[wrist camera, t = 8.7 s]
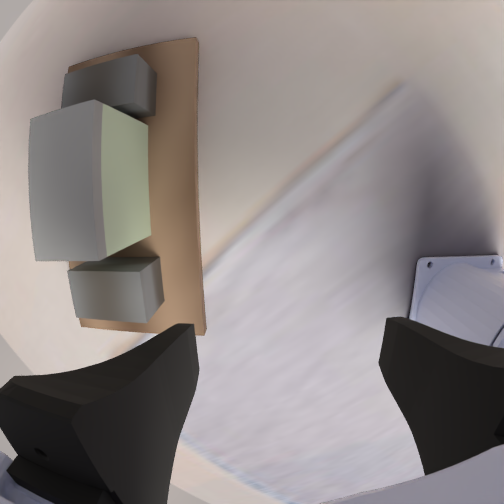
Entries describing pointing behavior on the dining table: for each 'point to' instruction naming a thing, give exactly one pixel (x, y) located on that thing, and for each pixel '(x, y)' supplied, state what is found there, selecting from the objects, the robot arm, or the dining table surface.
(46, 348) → the dining table surface
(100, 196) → the bracket block
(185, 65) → the post base
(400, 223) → the dining table surface
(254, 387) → the dining table surface
